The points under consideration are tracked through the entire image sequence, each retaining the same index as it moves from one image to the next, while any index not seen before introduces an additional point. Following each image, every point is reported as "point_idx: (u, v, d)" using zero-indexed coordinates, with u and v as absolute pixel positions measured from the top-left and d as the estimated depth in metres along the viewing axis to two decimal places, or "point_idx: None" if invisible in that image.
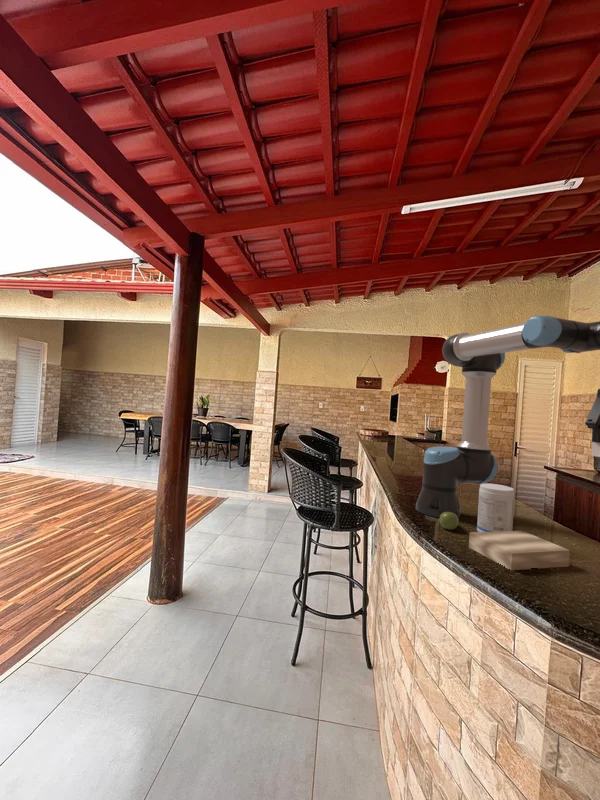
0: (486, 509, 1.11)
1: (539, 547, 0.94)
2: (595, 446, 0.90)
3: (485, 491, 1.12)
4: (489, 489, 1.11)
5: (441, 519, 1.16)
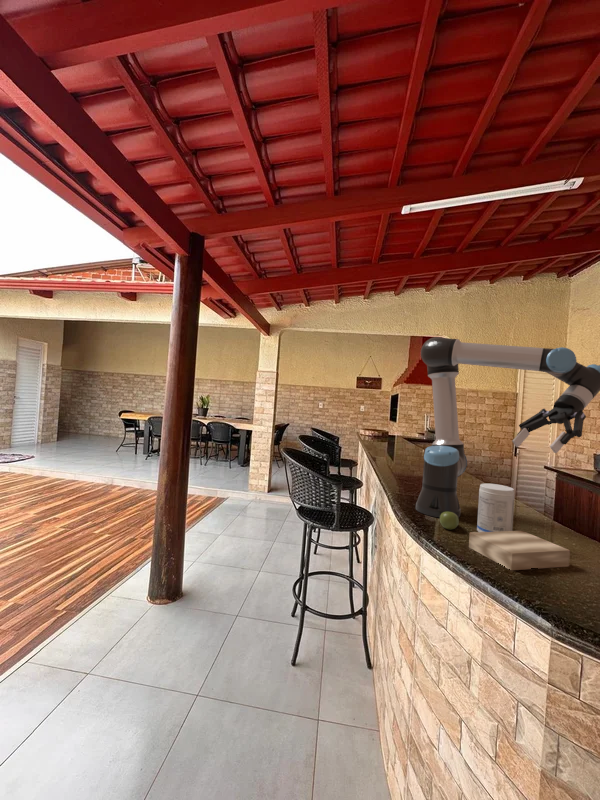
0: (486, 509, 1.11)
1: (539, 547, 0.94)
2: (557, 443, 1.11)
3: (485, 491, 1.12)
4: (489, 489, 1.11)
5: (441, 519, 1.16)
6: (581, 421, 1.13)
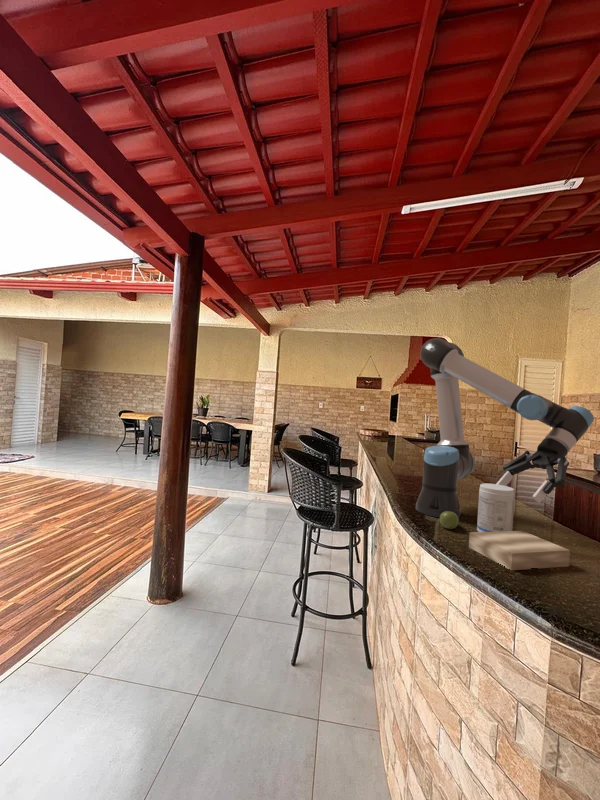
0: (486, 509, 1.11)
1: (539, 547, 0.94)
2: (540, 492, 1.08)
3: (485, 491, 1.12)
4: (489, 489, 1.11)
5: (441, 518, 1.17)
6: (564, 469, 1.10)
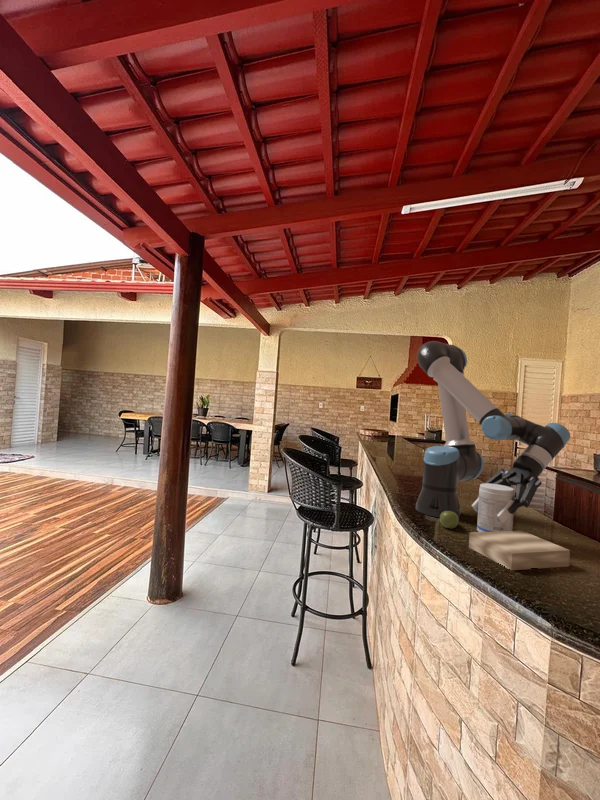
0: (486, 508, 1.11)
1: (539, 547, 0.94)
2: (504, 512, 1.08)
3: (485, 491, 1.12)
4: (489, 489, 1.11)
5: (441, 518, 1.17)
6: (534, 489, 1.09)
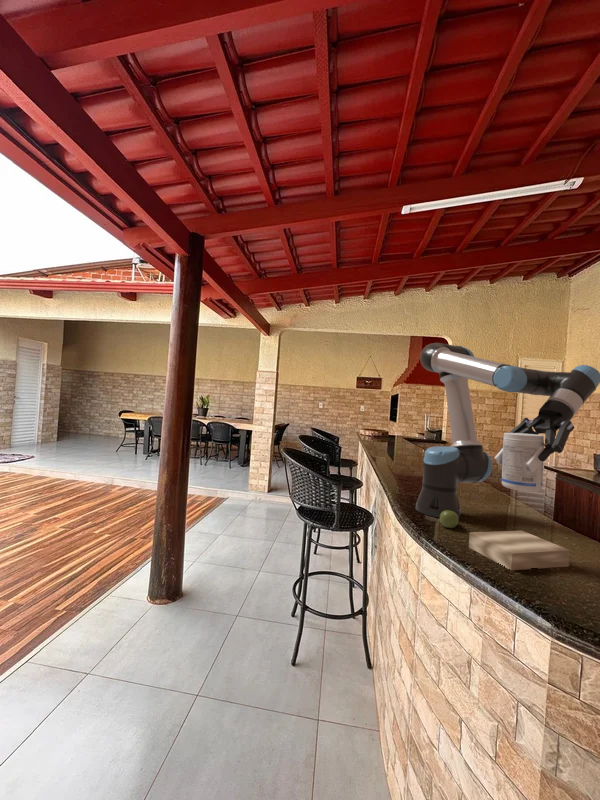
0: (513, 458, 0.98)
1: (539, 547, 0.94)
2: (535, 460, 0.95)
3: (512, 439, 0.99)
4: (516, 435, 0.98)
5: (441, 517, 1.18)
6: (566, 433, 0.96)
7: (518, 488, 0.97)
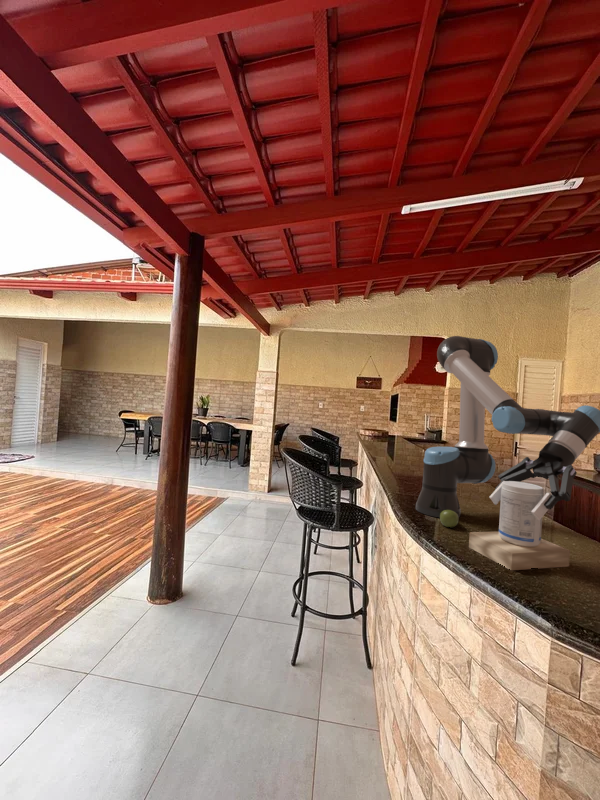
0: (511, 510, 0.95)
1: (539, 547, 0.94)
2: (541, 507, 0.90)
3: (510, 490, 0.95)
4: (514, 487, 0.95)
5: (441, 517, 1.19)
6: (570, 480, 0.92)
7: (515, 542, 0.94)
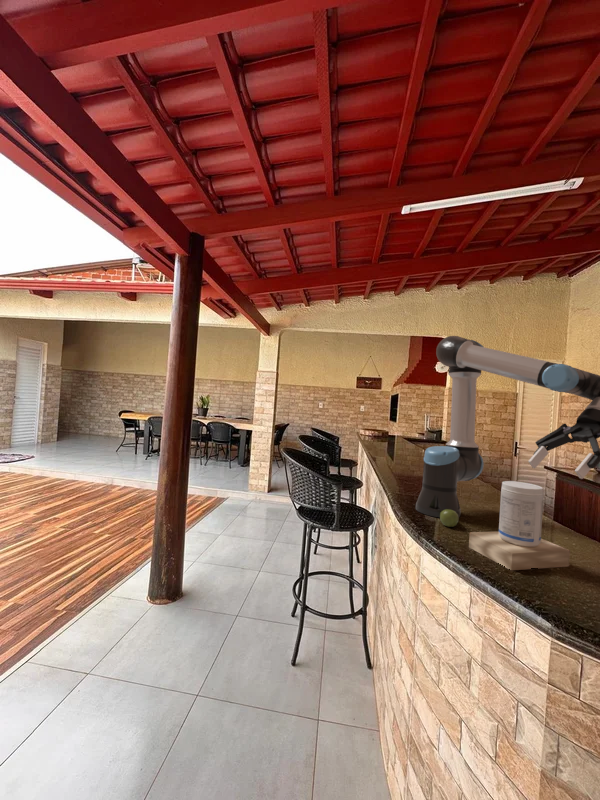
0: (511, 510, 0.95)
1: (539, 547, 0.94)
2: (584, 466, 0.94)
3: (509, 490, 0.95)
4: (514, 487, 0.95)
5: (441, 516, 1.19)
6: None
7: (515, 542, 0.94)
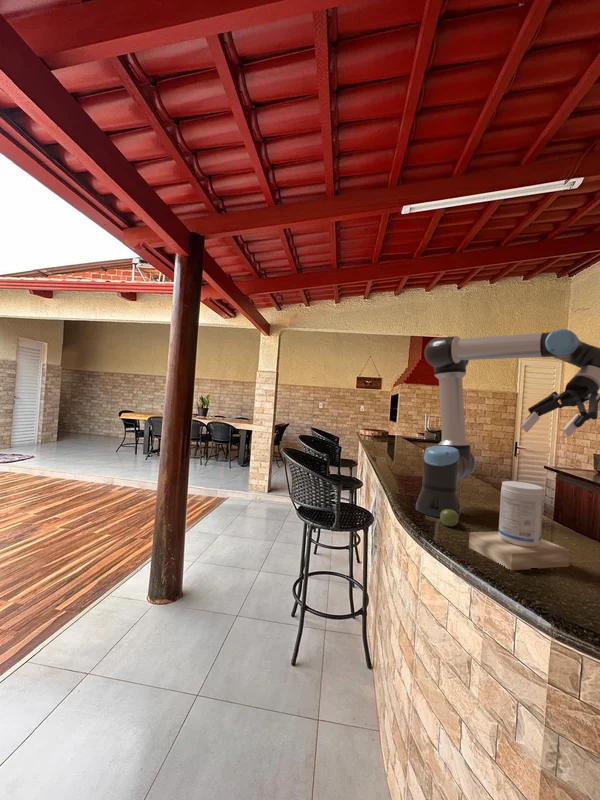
0: (511, 510, 0.95)
1: (539, 547, 0.94)
2: (571, 425, 1.03)
3: (509, 490, 0.95)
4: (514, 487, 0.95)
5: (441, 516, 1.19)
6: (596, 403, 1.05)
7: (515, 543, 0.94)
